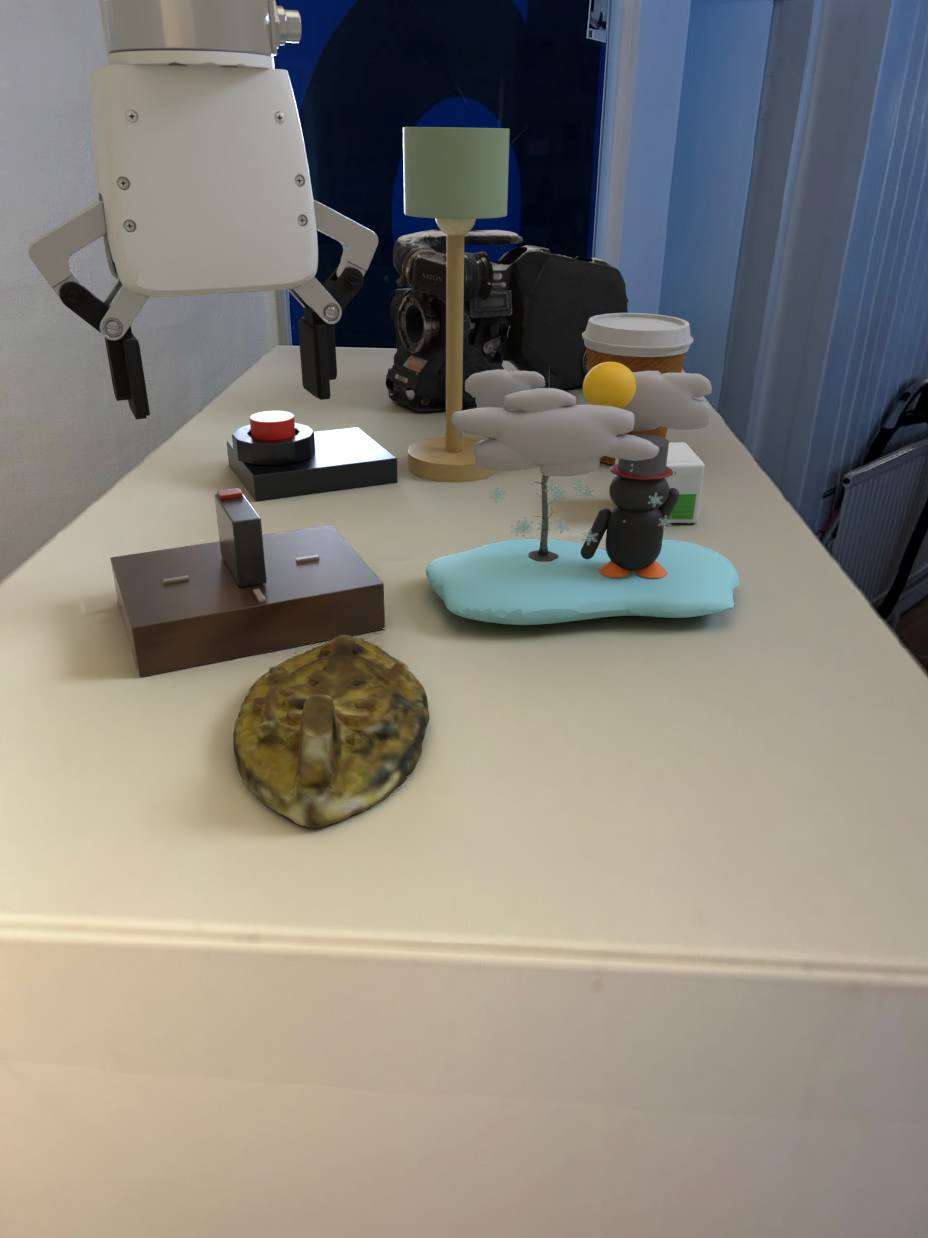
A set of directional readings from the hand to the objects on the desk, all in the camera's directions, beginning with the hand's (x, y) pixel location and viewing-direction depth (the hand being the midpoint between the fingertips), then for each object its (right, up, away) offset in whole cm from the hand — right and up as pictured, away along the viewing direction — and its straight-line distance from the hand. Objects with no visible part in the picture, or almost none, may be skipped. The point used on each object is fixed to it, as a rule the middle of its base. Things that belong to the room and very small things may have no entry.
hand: (231, 403), depth 51 cm
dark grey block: (0, -9, +4) cm, 10 cm away
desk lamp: (+12, +2, +31) cm, 34 cm away
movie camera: (+17, +13, +54) cm, 58 cm away
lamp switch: (-3, +3, +26) cm, 27 cm away
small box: (+28, -4, +22) cm, 36 cm away
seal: (+6, -17, -5) cm, 19 cm away
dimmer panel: (0, -11, +6) cm, 13 cm away
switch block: (0, +1, +29) cm, 29 cm away
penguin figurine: (+20, -11, +9) cm, 24 cm away
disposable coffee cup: (+28, +3, +35) cm, 45 cm away
